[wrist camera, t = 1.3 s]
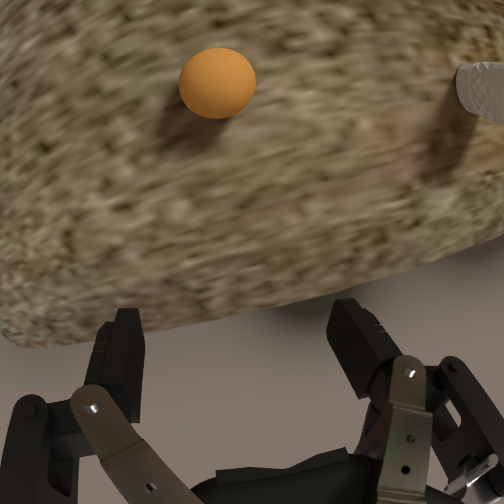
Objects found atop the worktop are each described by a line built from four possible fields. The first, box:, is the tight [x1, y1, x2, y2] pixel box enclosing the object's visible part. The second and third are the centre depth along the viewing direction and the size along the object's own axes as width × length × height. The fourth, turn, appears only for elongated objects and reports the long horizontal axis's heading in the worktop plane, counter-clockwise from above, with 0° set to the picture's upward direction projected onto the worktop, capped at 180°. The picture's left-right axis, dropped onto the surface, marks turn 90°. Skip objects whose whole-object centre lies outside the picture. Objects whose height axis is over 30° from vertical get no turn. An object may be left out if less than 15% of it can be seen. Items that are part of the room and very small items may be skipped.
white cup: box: [456, 62, 504, 125], centre depth 19 cm, size 8×8×10 cm
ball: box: [179, 48, 256, 119], centre depth 18 cm, size 6×6×6 cm
